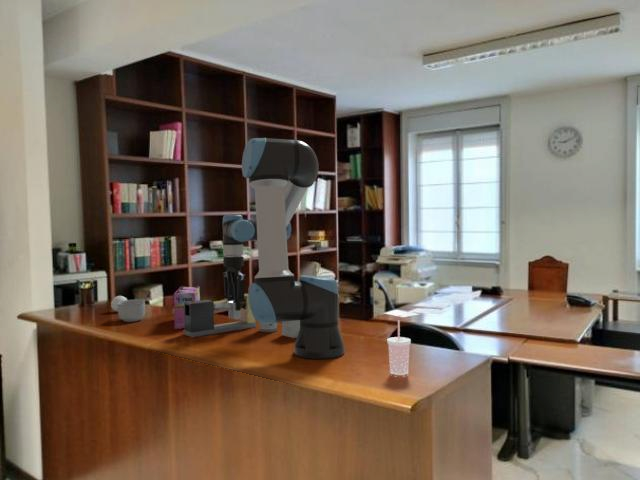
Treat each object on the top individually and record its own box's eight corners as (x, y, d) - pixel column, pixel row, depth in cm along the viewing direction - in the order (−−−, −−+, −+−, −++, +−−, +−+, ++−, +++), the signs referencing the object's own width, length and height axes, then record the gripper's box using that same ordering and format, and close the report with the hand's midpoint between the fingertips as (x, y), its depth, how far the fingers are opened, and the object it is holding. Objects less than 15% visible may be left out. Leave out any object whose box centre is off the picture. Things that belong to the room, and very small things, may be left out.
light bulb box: (303, 330, 187) (303, 301, 187) (316, 333, 182) (316, 303, 182) (281, 335, 180) (281, 304, 179) (294, 338, 175) (293, 307, 175)
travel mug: (275, 333, 184) (274, 277, 183) (257, 332, 185) (256, 277, 184) (279, 329, 190) (279, 275, 189) (262, 328, 191) (261, 275, 190)
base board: (192, 337, 179) (191, 332, 179) (183, 333, 184) (183, 329, 184) (256, 326, 195) (256, 323, 195) (246, 324, 200) (246, 320, 200)
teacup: (148, 321, 209) (148, 301, 209) (121, 324, 203) (120, 304, 203) (139, 316, 221) (139, 297, 221) (113, 319, 215) (112, 300, 215)
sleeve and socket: (191, 332, 179) (190, 302, 179) (184, 330, 184) (183, 300, 183) (255, 322, 195) (254, 295, 195) (247, 320, 200) (246, 293, 199)
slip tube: (208, 312, 184) (208, 304, 184) (204, 311, 187) (204, 303, 187) (250, 307, 195) (249, 299, 195) (246, 306, 198) (245, 298, 198)
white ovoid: (113, 310, 235) (113, 294, 235) (130, 310, 236) (130, 294, 236) (107, 314, 225) (106, 298, 225) (124, 314, 226) (124, 297, 226)
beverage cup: (389, 369, 137) (388, 317, 136) (412, 371, 135) (412, 318, 134) (385, 376, 131) (384, 322, 130) (409, 378, 129) (409, 323, 128)
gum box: (182, 317, 217) (181, 285, 216) (201, 316, 218) (200, 285, 217) (174, 329, 193) (173, 293, 193) (195, 328, 194) (194, 292, 194)
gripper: (253, 256, 188) (254, 320, 189) (231, 254, 201) (232, 314, 202) (235, 257, 183) (236, 322, 184) (214, 255, 196) (215, 316, 197)
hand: (234, 318), depth 193 cm, fingers closed on slip tube, 3 cm apart
